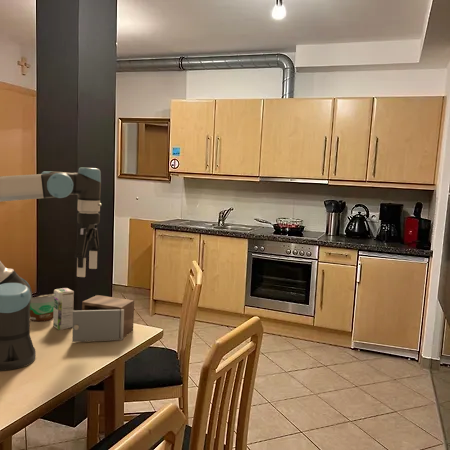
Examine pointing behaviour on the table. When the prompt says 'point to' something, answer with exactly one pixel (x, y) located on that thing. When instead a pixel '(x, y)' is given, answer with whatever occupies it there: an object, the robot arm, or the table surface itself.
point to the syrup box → (63, 308)
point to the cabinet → (113, 304)
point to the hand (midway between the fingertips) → (87, 272)
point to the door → (97, 325)
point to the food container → (42, 308)
